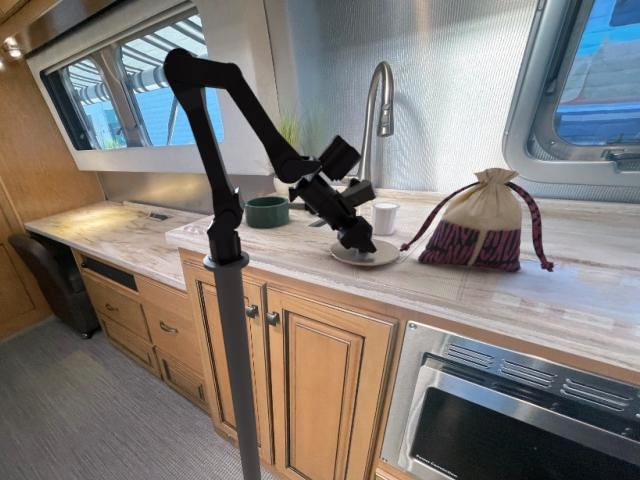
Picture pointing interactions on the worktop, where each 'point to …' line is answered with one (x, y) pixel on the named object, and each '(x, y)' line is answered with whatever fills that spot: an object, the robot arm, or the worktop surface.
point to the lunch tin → (267, 212)
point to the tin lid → (366, 253)
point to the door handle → (302, 207)
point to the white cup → (384, 217)
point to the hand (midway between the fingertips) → (370, 245)
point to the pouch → (483, 226)
